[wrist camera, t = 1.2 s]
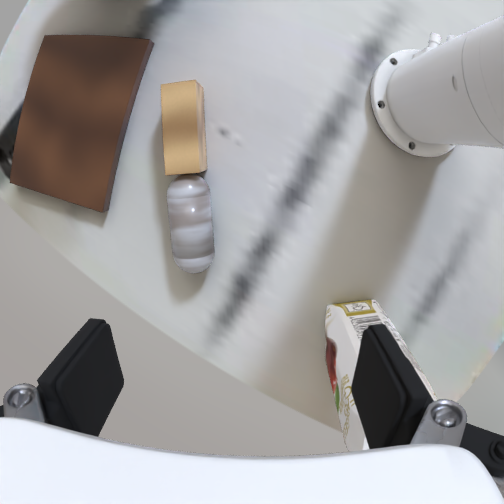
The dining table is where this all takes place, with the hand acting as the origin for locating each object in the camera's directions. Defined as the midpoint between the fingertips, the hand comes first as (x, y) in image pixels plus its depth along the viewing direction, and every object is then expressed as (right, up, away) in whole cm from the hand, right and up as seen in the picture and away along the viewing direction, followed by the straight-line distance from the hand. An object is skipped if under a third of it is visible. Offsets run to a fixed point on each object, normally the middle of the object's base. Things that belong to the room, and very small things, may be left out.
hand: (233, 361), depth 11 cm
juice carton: (+13, -5, +27) cm, 31 cm away
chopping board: (-21, +20, +20) cm, 35 cm away
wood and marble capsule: (-6, +11, +22) cm, 26 cm away
